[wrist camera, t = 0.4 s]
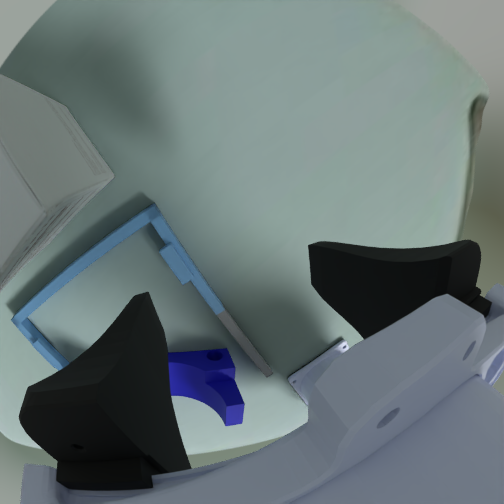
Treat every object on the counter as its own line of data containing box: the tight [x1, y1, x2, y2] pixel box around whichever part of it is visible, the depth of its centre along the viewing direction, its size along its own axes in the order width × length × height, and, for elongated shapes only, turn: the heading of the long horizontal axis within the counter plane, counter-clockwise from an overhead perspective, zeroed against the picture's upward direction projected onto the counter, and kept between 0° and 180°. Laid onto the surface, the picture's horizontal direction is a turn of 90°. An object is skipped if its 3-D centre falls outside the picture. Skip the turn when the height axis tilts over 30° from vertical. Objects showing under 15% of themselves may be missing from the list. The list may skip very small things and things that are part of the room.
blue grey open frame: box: [11, 203, 273, 377], centre depth 21 cm, size 20×17×2 cm
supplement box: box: [0, 74, 115, 292], centre depth 9 cm, size 7×7×13 cm
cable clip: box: [168, 348, 245, 426], centre depth 20 cm, size 12×4×6 cm, turn 84°
